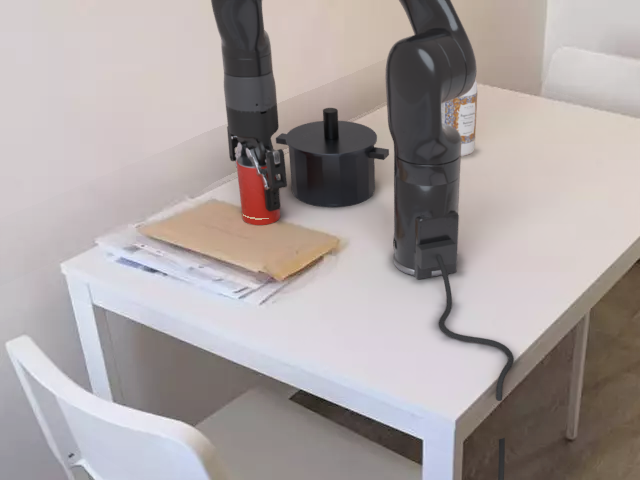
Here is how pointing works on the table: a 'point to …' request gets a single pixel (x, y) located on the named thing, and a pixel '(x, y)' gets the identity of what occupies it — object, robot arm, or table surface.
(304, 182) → the pot
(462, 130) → the bath foam
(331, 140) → the pot lid
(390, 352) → the table surface
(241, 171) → the tomato can
